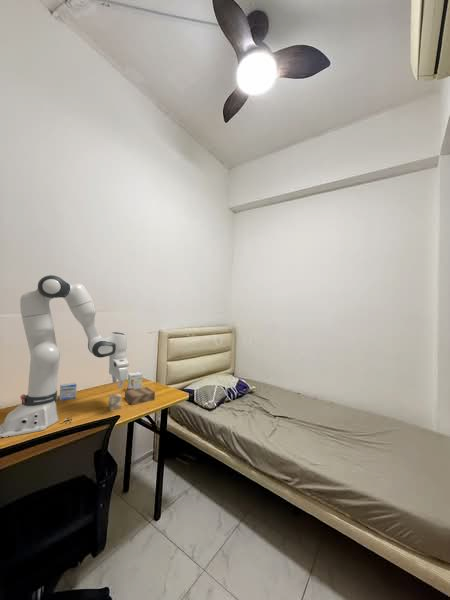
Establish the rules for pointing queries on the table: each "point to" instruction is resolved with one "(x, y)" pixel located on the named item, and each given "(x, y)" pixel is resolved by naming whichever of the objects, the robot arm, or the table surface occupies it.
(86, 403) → the table surface
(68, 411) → the table surface
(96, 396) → the table surface
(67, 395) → the medicine box
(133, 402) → the walnut block
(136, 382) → the ink box
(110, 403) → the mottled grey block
